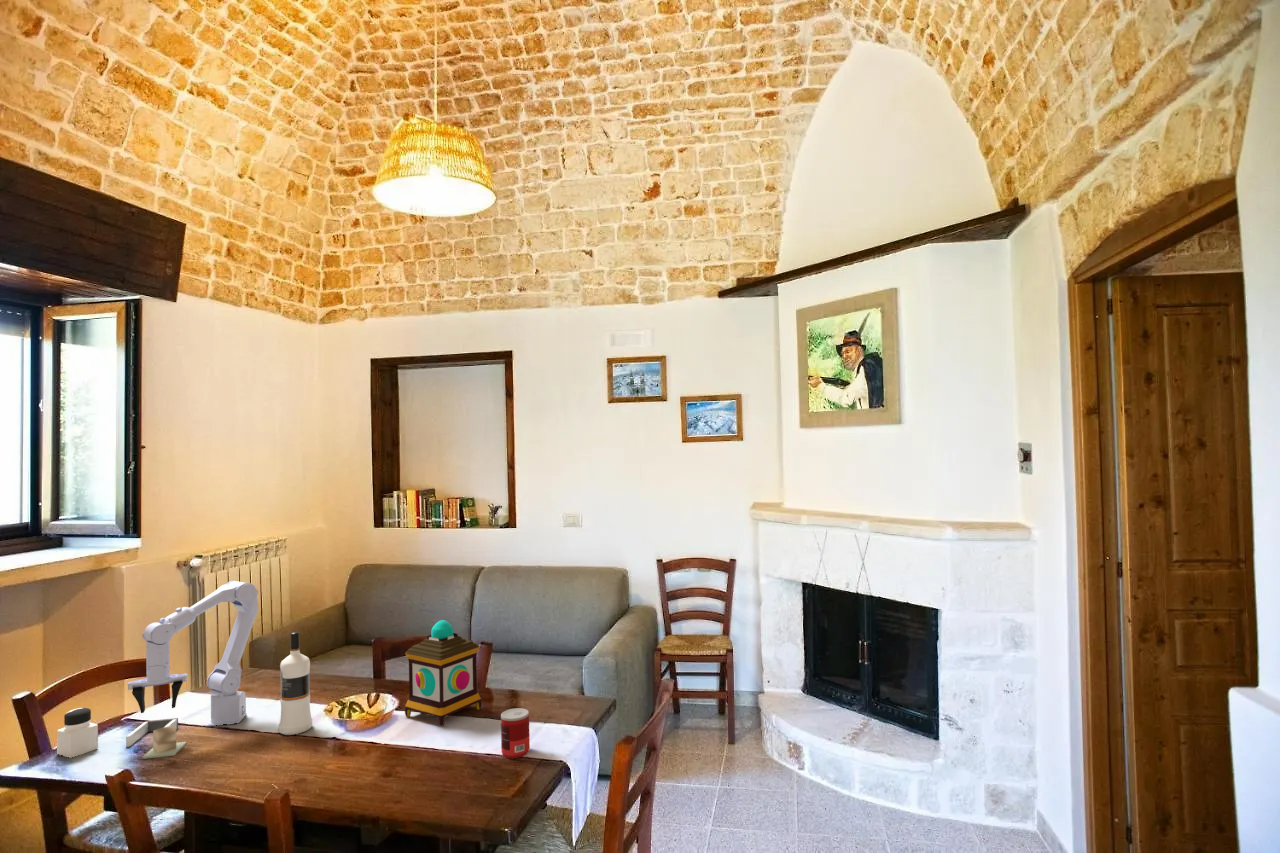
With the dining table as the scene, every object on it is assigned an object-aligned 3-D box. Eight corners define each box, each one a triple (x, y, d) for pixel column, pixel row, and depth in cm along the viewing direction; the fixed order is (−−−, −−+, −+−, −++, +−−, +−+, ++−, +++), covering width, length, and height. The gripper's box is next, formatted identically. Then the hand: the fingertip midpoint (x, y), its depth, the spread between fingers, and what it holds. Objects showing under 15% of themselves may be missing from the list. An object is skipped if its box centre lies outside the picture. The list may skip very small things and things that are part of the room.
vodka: (311, 732, 213) (310, 634, 214) (277, 738, 210) (276, 637, 210) (313, 722, 222) (311, 627, 223) (280, 727, 218) (279, 630, 219)
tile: (186, 743, 207) (186, 741, 207) (174, 755, 199) (174, 753, 199) (156, 746, 206) (156, 744, 206) (142, 758, 198) (142, 756, 198)
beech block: (171, 744, 206) (171, 725, 206) (176, 748, 203) (176, 729, 203) (153, 749, 202) (153, 730, 202) (158, 753, 199) (157, 734, 200)
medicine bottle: (98, 748, 205) (98, 707, 206) (70, 758, 199) (70, 716, 199) (84, 744, 208) (84, 704, 209) (56, 754, 202) (56, 712, 202)
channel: (178, 727, 220) (177, 718, 220) (160, 743, 208) (160, 733, 208) (145, 730, 218) (145, 721, 218) (126, 746, 206) (126, 736, 206)
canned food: (534, 748, 198) (533, 709, 199) (520, 760, 191) (520, 720, 191) (510, 745, 201) (510, 706, 201) (496, 757, 193) (495, 717, 194)
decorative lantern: (488, 708, 230) (486, 616, 230) (441, 730, 213) (439, 631, 214) (445, 698, 240) (444, 610, 241) (398, 717, 224) (396, 623, 224)
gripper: (188, 656, 216) (188, 700, 216) (131, 664, 210) (131, 709, 209) (185, 662, 210) (185, 707, 209) (126, 670, 203) (126, 717, 203)
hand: (158, 709), depth 209 cm, fingers open, 7 cm apart
